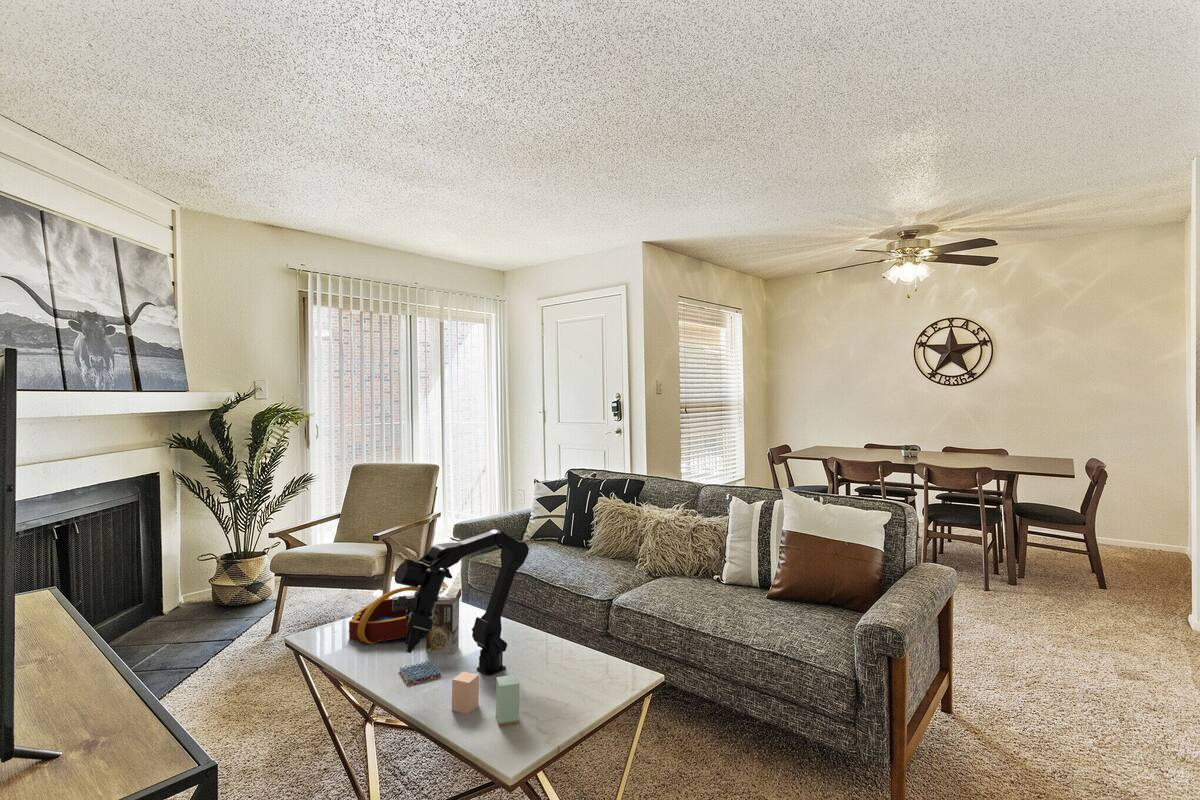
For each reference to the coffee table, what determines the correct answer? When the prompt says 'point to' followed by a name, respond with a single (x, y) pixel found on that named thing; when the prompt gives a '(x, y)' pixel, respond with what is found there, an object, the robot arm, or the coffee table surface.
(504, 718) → the sage block
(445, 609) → the coffee box
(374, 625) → the decorative basket
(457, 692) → the terracotta block
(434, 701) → the coffee table surface
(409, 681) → the woven mat
